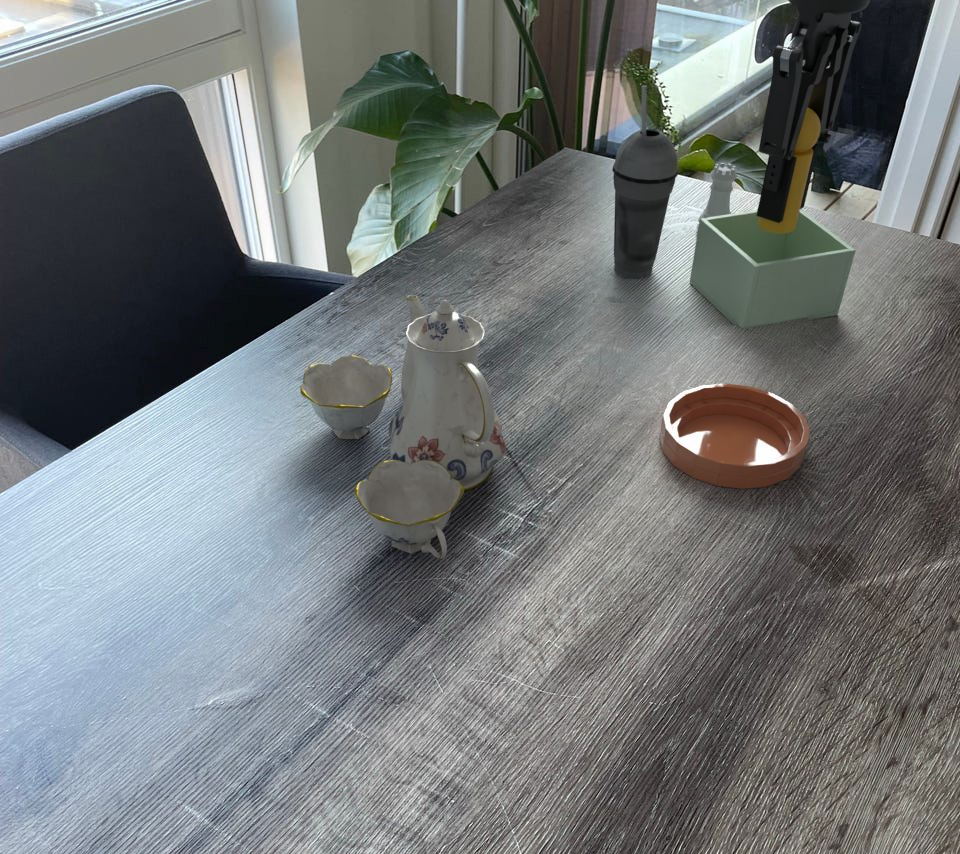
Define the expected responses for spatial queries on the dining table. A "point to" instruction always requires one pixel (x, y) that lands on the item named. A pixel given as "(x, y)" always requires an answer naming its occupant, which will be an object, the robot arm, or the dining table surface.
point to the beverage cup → (641, 197)
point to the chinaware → (417, 424)
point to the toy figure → (797, 175)
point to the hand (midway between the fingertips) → (780, 210)
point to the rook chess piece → (720, 191)
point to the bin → (770, 269)
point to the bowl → (734, 435)
